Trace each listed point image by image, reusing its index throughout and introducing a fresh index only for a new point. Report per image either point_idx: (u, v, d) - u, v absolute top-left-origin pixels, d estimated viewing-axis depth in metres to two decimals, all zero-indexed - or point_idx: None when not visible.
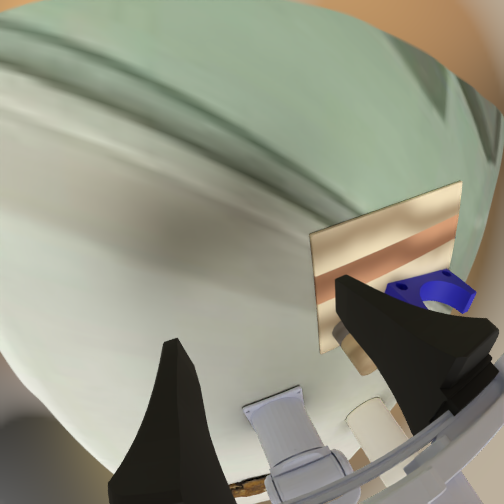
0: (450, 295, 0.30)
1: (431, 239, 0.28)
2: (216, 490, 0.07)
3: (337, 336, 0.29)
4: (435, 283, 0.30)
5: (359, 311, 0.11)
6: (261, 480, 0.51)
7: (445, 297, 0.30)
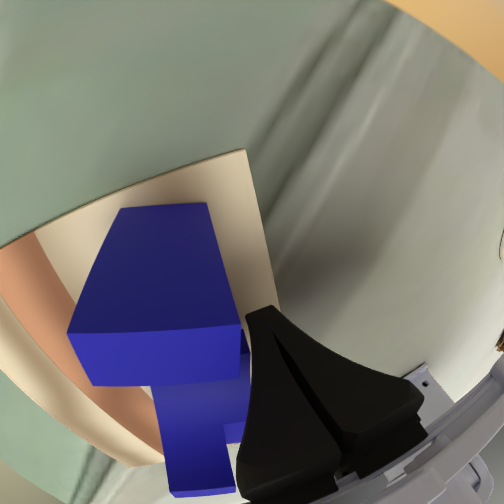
0: None
1: (69, 343, 0.11)
2: None
3: None
4: None
5: None
6: None
7: None
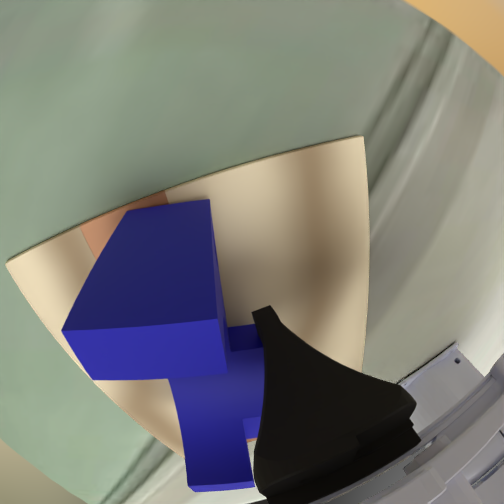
0: None
1: None
2: None
3: None
4: None
5: None
6: None
7: None
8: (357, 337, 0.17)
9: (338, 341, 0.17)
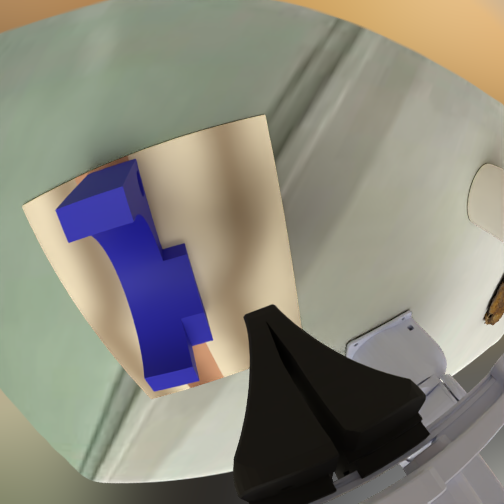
0: None
1: None
2: None
3: None
4: (113, 254, 0.15)
5: (278, 347, 0.10)
6: (497, 296, 0.41)
7: (129, 224, 0.13)
8: (286, 281, 0.22)
9: (268, 281, 0.22)
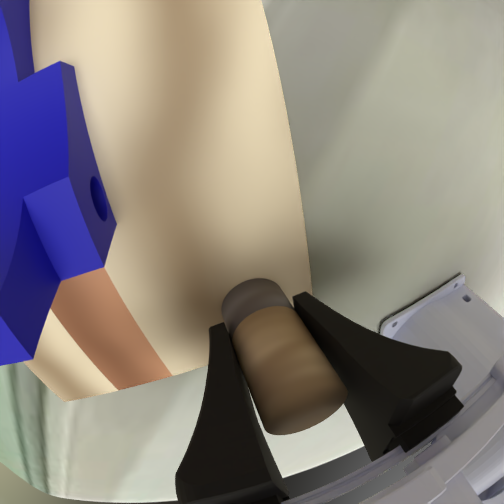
0: None
1: None
2: (277, 472, 0.07)
3: None
4: None
5: (314, 332, 0.10)
6: None
7: None
8: (280, 171, 0.11)
9: (242, 166, 0.10)
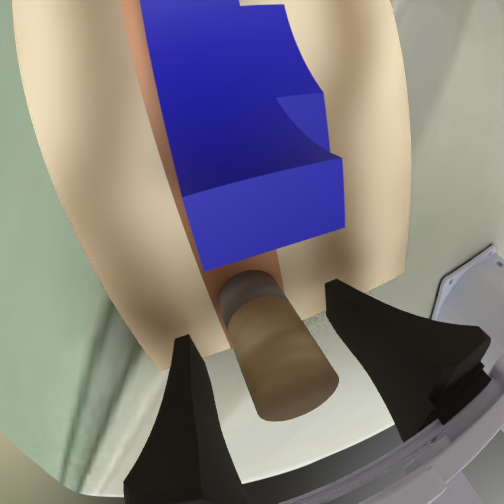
0: None
1: None
2: (231, 486, 0.07)
3: None
4: None
5: (348, 316, 0.11)
6: None
7: None
8: (402, 138, 0.12)
9: (381, 131, 0.12)
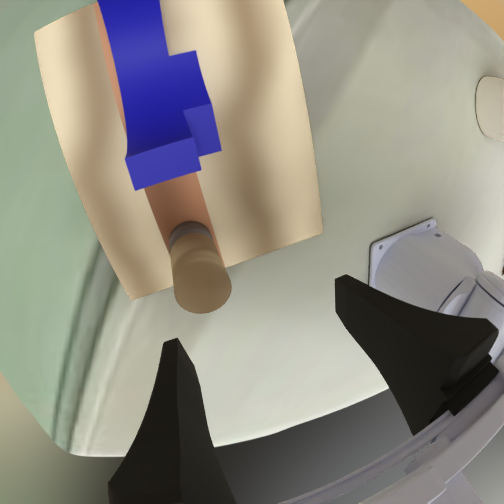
0: None
1: None
2: (216, 490, 0.07)
3: None
4: (117, 48, 0.11)
5: (359, 311, 0.11)
6: None
7: (142, 2, 0.09)
8: (300, 126, 0.18)
9: (281, 122, 0.18)
